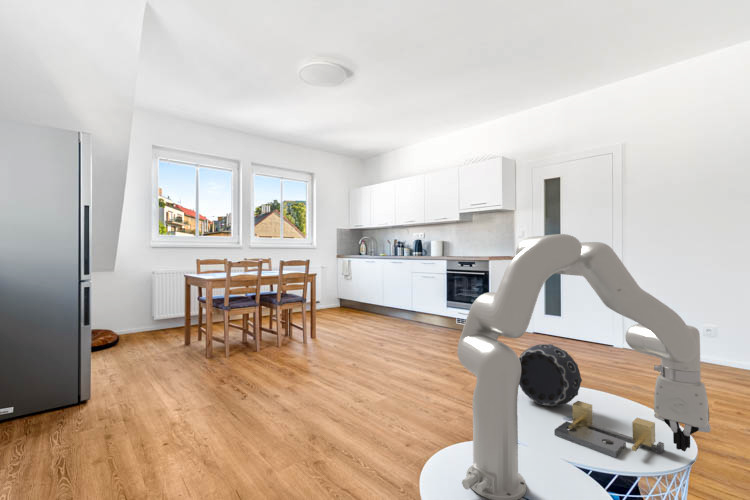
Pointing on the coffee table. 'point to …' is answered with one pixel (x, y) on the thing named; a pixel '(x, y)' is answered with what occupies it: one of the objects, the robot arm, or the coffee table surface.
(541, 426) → the coffee table surface
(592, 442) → the flange plate
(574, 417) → the dividers bar
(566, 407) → the coffee table surface
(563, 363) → the dark grey wheel
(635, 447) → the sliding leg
